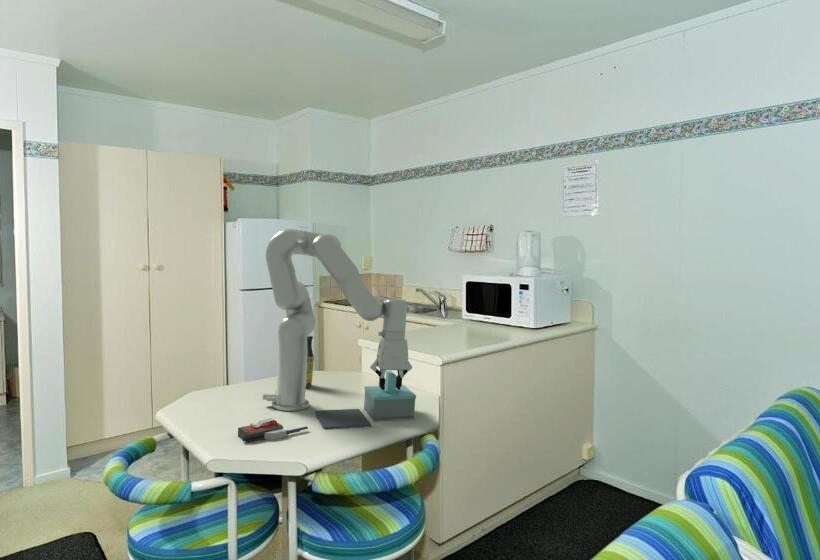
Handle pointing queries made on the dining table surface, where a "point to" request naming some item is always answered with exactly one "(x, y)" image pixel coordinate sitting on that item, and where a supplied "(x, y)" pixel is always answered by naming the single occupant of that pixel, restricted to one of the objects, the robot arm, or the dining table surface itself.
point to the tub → (389, 408)
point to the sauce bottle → (309, 361)
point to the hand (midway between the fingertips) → (390, 388)
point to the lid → (389, 390)
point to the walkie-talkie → (265, 431)
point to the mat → (342, 418)
